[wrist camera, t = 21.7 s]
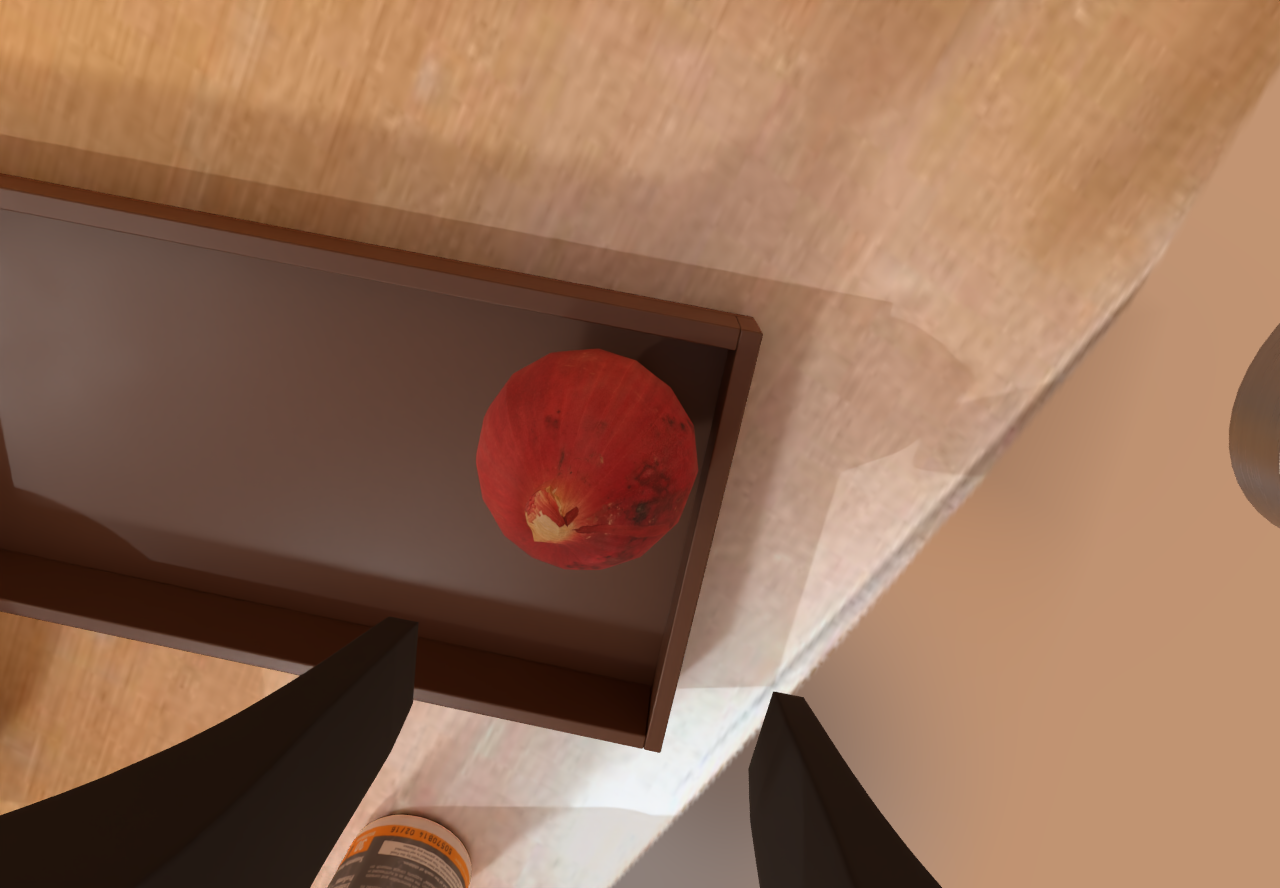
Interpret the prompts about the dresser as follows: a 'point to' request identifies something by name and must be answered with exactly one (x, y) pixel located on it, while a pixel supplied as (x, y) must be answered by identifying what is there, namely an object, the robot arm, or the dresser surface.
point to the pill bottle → (404, 856)
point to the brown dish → (327, 455)
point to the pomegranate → (586, 459)
